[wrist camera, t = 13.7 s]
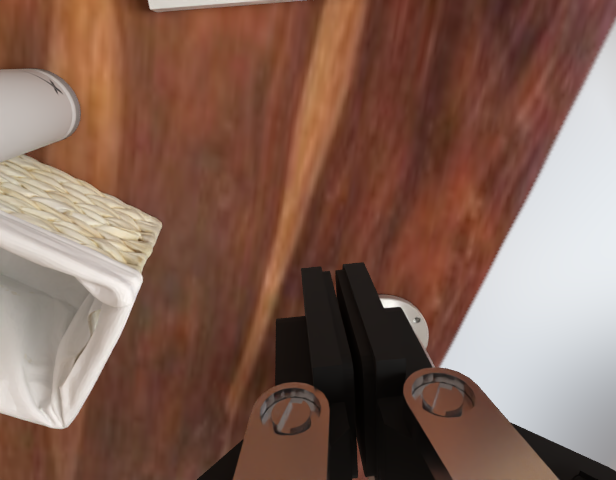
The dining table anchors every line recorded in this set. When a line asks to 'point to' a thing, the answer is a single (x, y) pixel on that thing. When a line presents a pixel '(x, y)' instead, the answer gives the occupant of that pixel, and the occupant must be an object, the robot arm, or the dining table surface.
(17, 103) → the travel mug
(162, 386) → the dining table surface
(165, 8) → the board
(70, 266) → the storage basket
